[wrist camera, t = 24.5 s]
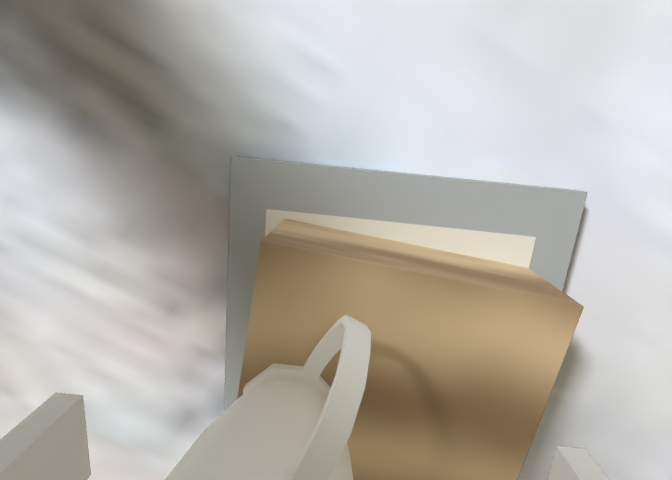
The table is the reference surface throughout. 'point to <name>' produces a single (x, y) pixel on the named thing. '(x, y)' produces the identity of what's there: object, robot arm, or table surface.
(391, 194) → the build board
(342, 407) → the cup
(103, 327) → the table surface
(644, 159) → the table surface
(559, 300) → the oak block
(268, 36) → the table surface
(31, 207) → the table surface
